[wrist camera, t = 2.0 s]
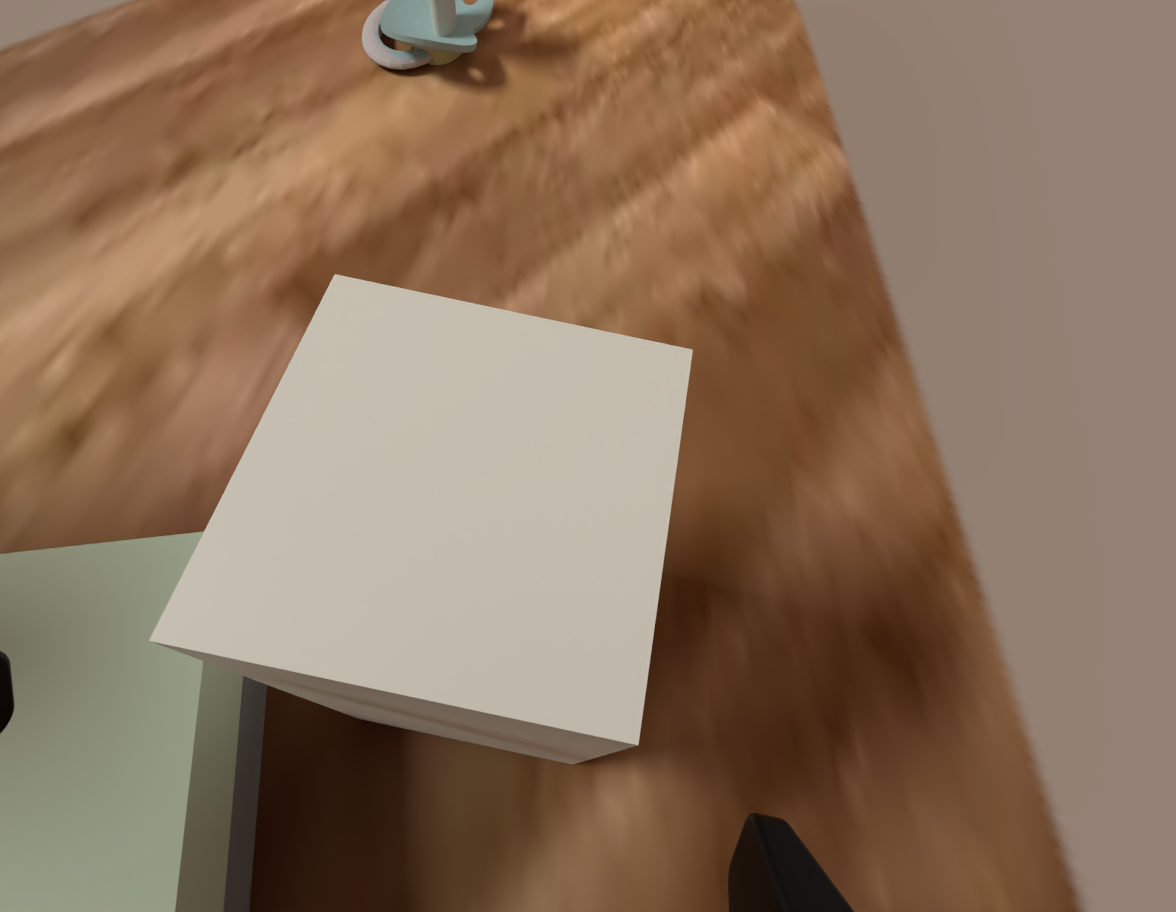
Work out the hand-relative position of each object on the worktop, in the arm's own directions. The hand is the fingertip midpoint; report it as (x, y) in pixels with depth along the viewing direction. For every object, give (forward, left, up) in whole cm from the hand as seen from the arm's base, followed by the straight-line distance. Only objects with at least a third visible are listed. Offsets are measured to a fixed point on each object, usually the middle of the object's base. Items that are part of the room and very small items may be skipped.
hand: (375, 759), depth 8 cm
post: (+3, -2, -11) cm, 11 cm away
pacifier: (+32, -6, -11) cm, 35 cm away
